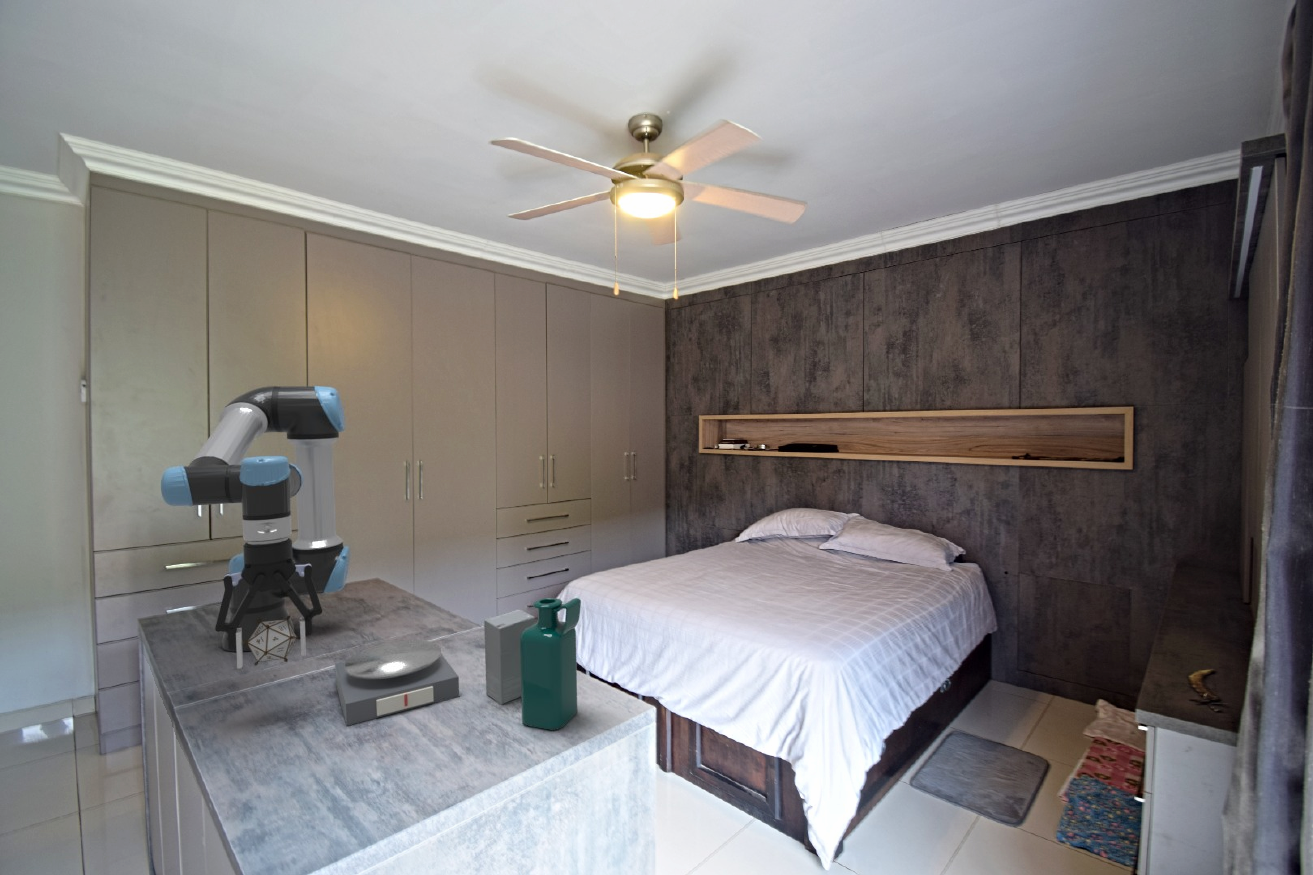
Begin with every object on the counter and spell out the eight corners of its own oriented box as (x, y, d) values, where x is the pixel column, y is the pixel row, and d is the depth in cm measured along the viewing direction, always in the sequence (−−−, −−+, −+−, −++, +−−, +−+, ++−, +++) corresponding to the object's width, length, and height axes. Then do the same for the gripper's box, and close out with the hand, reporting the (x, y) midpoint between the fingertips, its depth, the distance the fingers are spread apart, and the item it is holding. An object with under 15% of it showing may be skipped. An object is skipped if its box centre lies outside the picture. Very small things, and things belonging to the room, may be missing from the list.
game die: (276, 684, 109) (264, 654, 103) (239, 664, 110) (225, 634, 104) (315, 645, 116) (306, 615, 110) (279, 627, 117) (269, 596, 111)
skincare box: (520, 681, 124) (518, 607, 123) (539, 692, 119) (537, 614, 118) (483, 695, 118) (481, 616, 117) (501, 707, 113) (499, 625, 112)
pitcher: (517, 725, 106) (514, 603, 105) (542, 703, 114) (540, 591, 113) (565, 734, 103) (562, 609, 102) (587, 711, 110) (585, 595, 110)
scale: (335, 681, 125) (334, 663, 125) (433, 659, 136) (433, 642, 136) (347, 727, 106) (346, 706, 106) (460, 697, 117) (459, 678, 117)
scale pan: (341, 661, 124) (340, 652, 124) (430, 642, 134) (430, 634, 134) (350, 693, 109) (350, 683, 109) (450, 669, 119) (450, 660, 119)
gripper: (190, 551, 100) (196, 681, 101) (336, 536, 112) (340, 652, 113) (195, 543, 106) (200, 666, 107) (333, 529, 118) (337, 639, 119)
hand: (272, 659), depth 110 cm, fingers closed on game die, 9 cm apart
